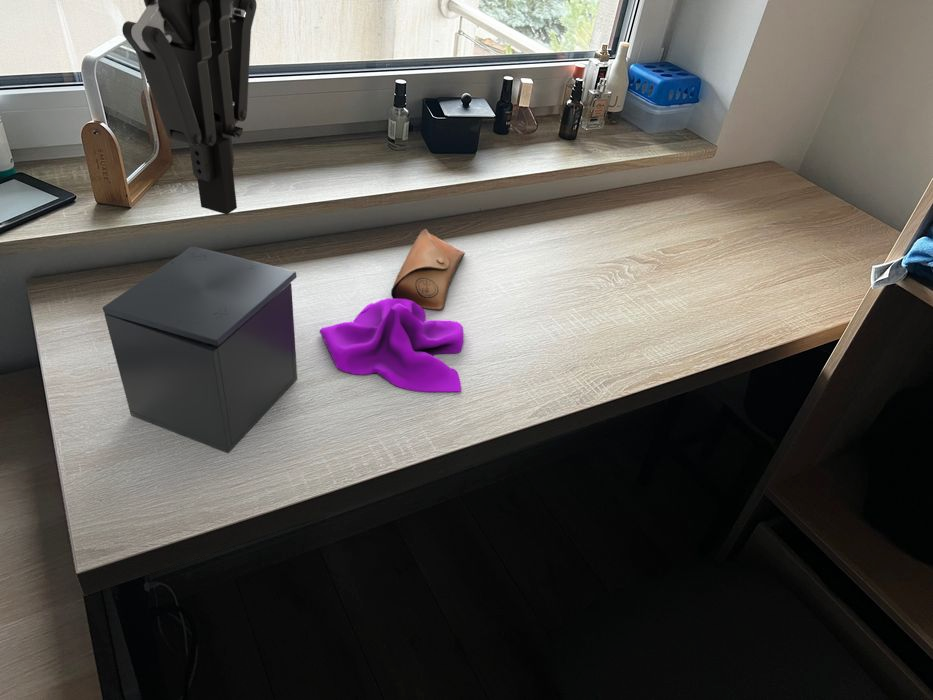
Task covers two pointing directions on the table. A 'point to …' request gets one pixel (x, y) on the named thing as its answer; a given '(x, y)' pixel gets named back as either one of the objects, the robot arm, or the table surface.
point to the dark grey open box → (208, 374)
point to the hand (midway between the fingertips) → (219, 207)
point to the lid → (201, 295)
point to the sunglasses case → (427, 272)
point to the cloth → (397, 346)
